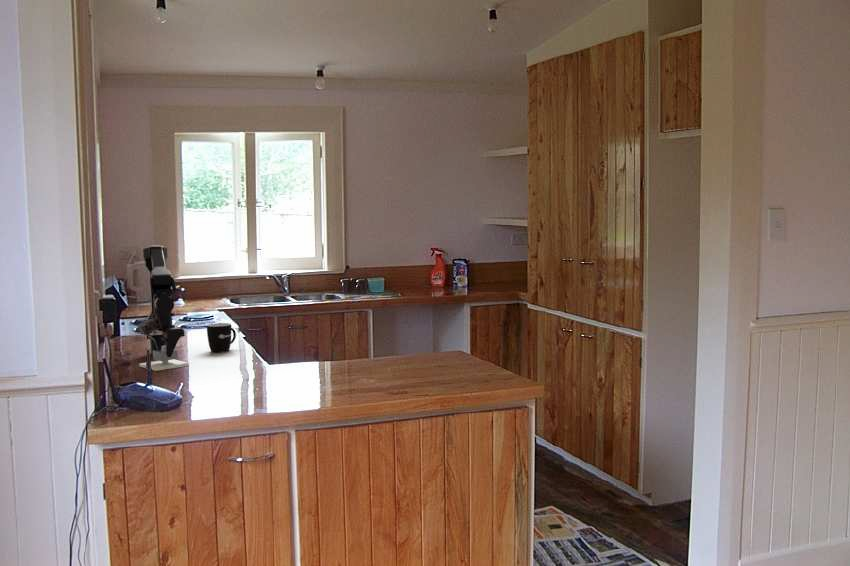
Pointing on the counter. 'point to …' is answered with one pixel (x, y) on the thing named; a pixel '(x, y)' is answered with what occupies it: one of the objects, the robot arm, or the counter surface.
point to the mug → (220, 337)
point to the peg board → (167, 366)
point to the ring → (164, 355)
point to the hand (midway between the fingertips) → (165, 356)
